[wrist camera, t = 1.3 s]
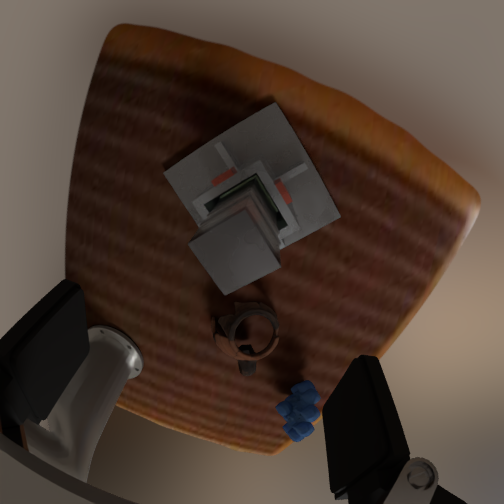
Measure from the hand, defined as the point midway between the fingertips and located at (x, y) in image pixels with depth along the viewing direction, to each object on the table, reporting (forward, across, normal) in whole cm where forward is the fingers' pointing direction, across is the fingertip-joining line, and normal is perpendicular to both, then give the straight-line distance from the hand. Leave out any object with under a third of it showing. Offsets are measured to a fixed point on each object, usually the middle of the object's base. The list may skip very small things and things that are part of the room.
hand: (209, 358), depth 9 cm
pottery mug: (+29, -3, +20) cm, 36 cm away
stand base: (+29, 0, 0) cm, 29 cm away
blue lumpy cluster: (+29, -15, +31) cm, 45 cm away
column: (+28, 0, 0) cm, 28 cm away
